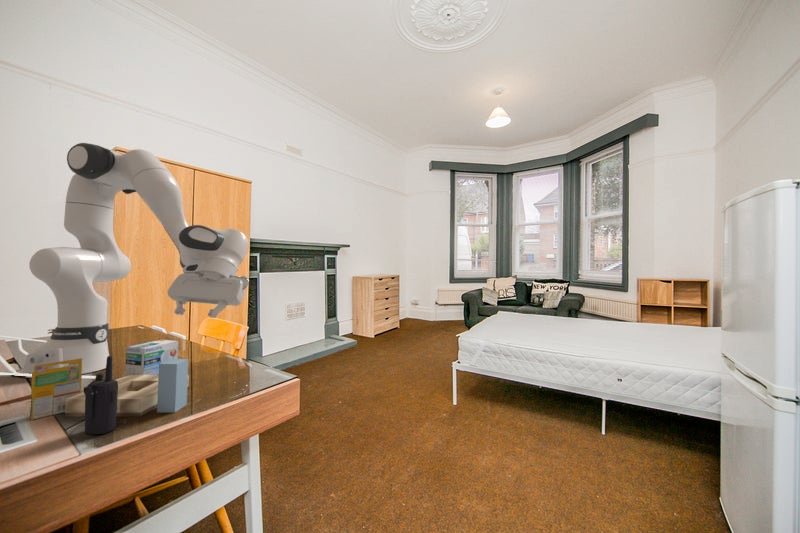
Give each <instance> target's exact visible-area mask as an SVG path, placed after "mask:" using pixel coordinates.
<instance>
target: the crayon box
mask: <svg viewBox="0 0 800 533" xmlns="http://www.w3.org/2000/svg"><path fill="white" fill-rule="evenodd" d="M67 363H68V364H69V366H66V367H61V368H52V369H49V368H48V367H49V366H54V365H57V364H67ZM82 375H83V374H82V358H81V359H74V360H68V361H61V362H55V363H48V364H42V365H35V366H34V372H32V378H31V388H30V389H31V391H30V392H31V393H30V408H29V412H30V413H29V417H30V420H31V421H34V420H33V419H35V420H37V419H41V418H47V417H49V416H54V415H57V414H61V413H62V414H63V413H65V407H66V399H67V398H70V397H72V396H75V395H77V394H80V393H82V377H83V376H82Z"/></svg>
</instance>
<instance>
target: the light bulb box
mask: <svg viewBox="0 0 800 533" xmlns="http://www.w3.org/2000/svg"><path fill="white" fill-rule="evenodd" d="M125 350H126V351H125V355H126V356H125V371H124V372H125V373H124V376H127V375H159V364H160V363H162V362H165V361H168V360H170V359H179V358H178V357H179V341H178V340H170V339H169V340H168V339H158V340H154V341H148V342H143V343H139V344H134V345H130V346H126V349H125Z"/></svg>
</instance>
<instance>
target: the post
mask: <svg viewBox="0 0 800 533" xmlns="http://www.w3.org/2000/svg"><path fill="white" fill-rule="evenodd" d="M189 360H190V359H189V358H178V359H170V360H168V361H165V362H162V363H160V364H159V376H158V399H157V407H156V413H176V412H178V411H179V410H181V409H182V408H184V407H186V406H187V404H188V389H187V385H188V375H189Z"/></svg>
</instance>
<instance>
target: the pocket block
mask: <svg viewBox="0 0 800 533" xmlns="http://www.w3.org/2000/svg"><path fill="white" fill-rule="evenodd" d="M158 376H159V375H127V376H125V375H124V376H122V377H119V378H117V379H115V380H116V381H117V382H118V398H117V413H116V417H142V416H144V415H146V414H147V413H149V412H151V411H153V410H154V409H157V399H158ZM189 384H190V374H188V385H187V390H189V388H190V385H189ZM64 417H70V418H71V417H72V418H73V417H78V418H79V417H85V393H84V392H81V393H80V394H77V395H75V396H72V397H70V398H67V399H66V407H65V412H64Z"/></svg>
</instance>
